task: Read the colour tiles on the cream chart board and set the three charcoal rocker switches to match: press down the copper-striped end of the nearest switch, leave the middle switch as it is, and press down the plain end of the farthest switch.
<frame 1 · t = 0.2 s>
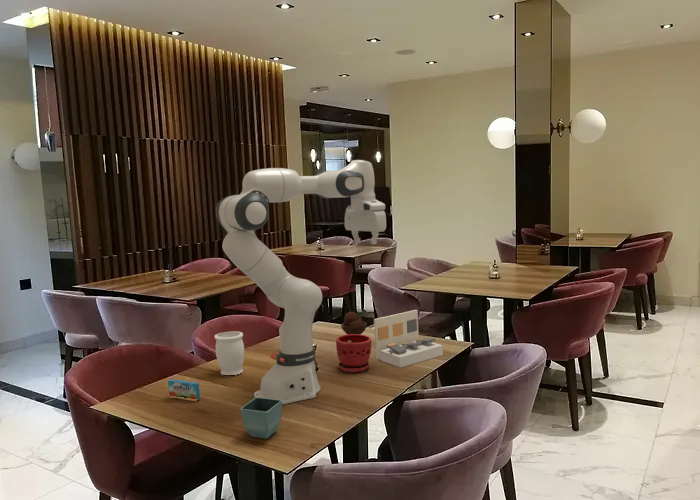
hand: (365, 243, 202), 47 cm above the table, tool pointing down, fingers open, 8 cm apart
jar: (231, 373, 212), on the table
switch near: (396, 348, 214), point 5 cm above the table, hinge at 10.0°
switch far: (425, 340, 223), point 5 cm above the table, hinge at -10.0°
flower pot: (263, 435, 157), on the table
ice cream bowl: (355, 345, 240), on the table
plant pot: (355, 369, 209), on the table
switch middle: (411, 344, 218), point 5 cm above the table, hinge at -10.0°
switch unit: (411, 357, 219), on the table
blue printed box: (184, 399, 187), on the table
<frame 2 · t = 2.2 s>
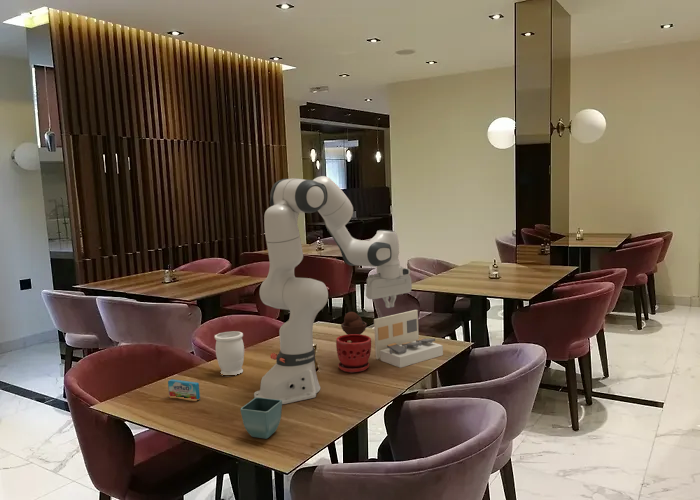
hand: (389, 307, 215), 21 cm above the table, tool pointing down, fingers closed
nothing on the table moved.
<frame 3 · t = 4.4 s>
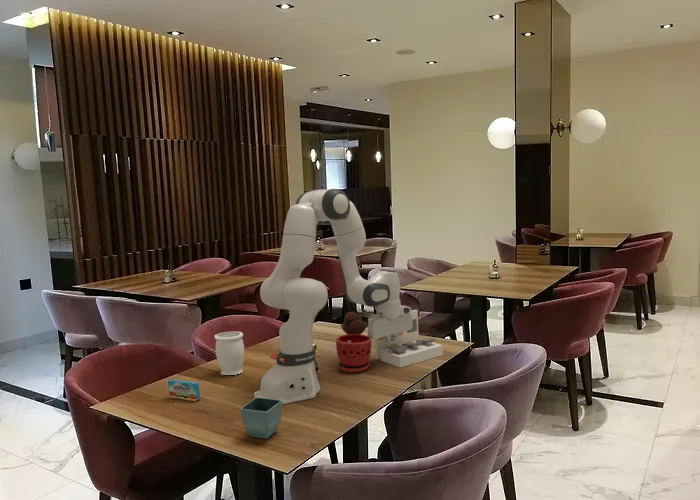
hand: (391, 345, 217), 6 cm above the table, tool pointing down, fingers closed, pressing on switch near
switch near: (396, 348, 214), point 5 cm above the table, hinge at 6.1°, touching gripper
everything else where it was.
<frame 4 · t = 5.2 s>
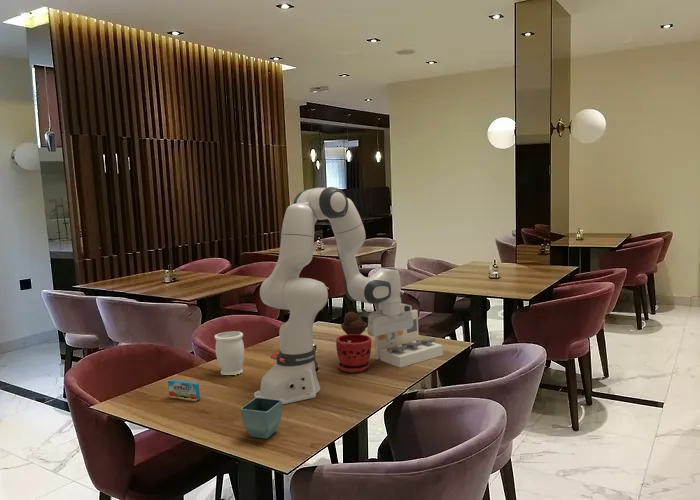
hand: (391, 343, 216), 7 cm above the table, tool pointing down, fingers closed
switch near: (396, 348, 214), point 5 cm above the table, hinge at -12.1°
everything else where it was.
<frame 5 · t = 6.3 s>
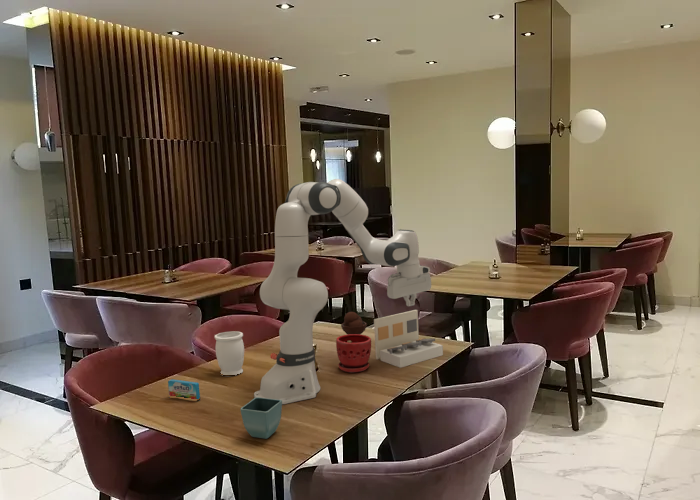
hand: (410, 305, 217), 21 cm above the table, tool pointing down, fingers closed
switch near: (396, 348, 214), point 5 cm above the table, hinge at -17.7°, touching switch unit
everything else where it was.
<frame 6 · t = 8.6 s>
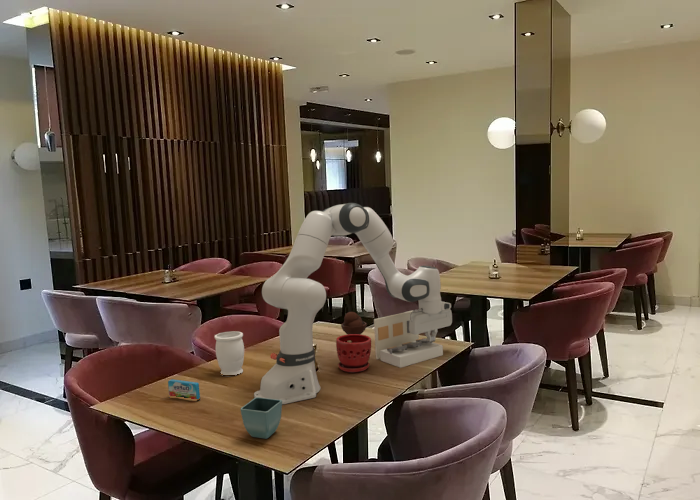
hand: (431, 340, 220), 6 cm above the table, tool pointing down, fingers closed, pressing on switch far
switch near: (396, 348, 214), point 5 cm above the table, hinge at -13.8°
switch far: (425, 340, 223), point 5 cm above the table, hinge at -7.8°, touching gripper
everything else where it was.
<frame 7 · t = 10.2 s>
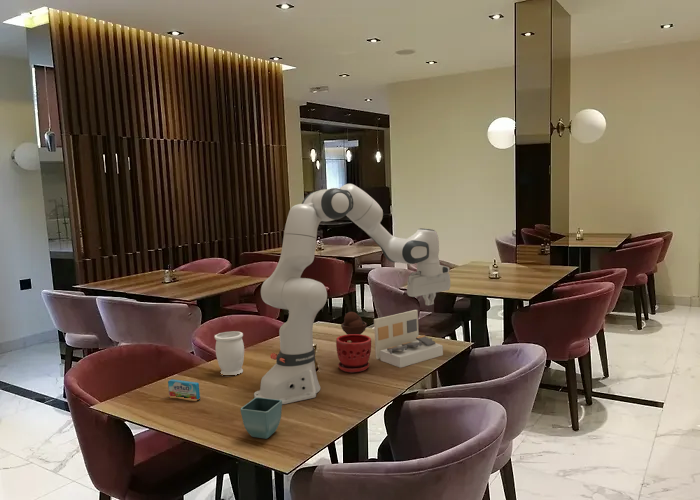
hand: (429, 304, 218), 20 cm above the table, tool pointing down, fingers closed
switch near: (396, 348, 214), point 5 cm above the table, hinge at -12.9°
switch far: (425, 340, 223), point 5 cm above the table, hinge at 12.1°
everything else where it was.
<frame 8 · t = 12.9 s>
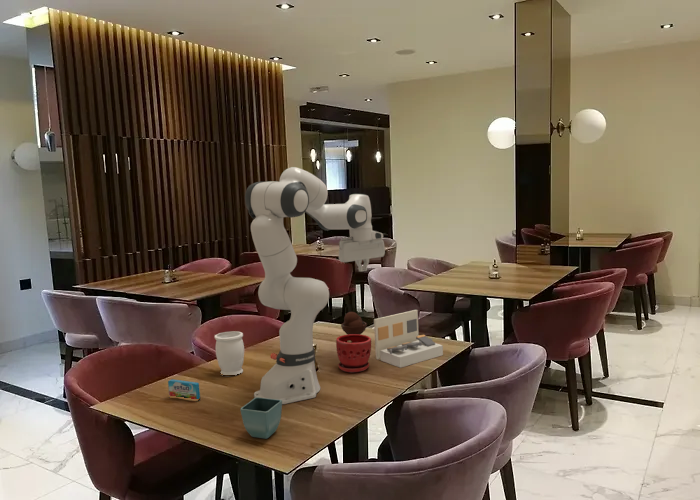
hand: (362, 270, 217), 35 cm above the table, tool pointing down, fingers closed
switch near: (396, 348, 214), point 5 cm above the table, hinge at -12.5°
switch far: (425, 340, 223), point 5 cm above the table, hinge at 17.3°, touching switch unit
everything else where it was.
at the end: switch near at -12° (first picture: +10°); switch middle at -10° (first picture: -10°); switch far at +17° (first picture: -10°) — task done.
